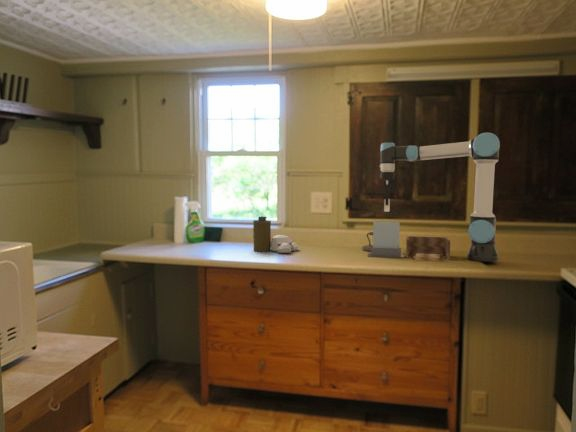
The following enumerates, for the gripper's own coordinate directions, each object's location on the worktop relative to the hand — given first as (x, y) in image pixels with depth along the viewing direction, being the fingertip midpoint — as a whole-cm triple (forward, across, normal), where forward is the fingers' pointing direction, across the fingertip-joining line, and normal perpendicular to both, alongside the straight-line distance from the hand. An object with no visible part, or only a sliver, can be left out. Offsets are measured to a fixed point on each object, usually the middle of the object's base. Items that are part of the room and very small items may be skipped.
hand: (387, 210), depth 252 cm
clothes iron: (+26, -16, -11) cm, 33 cm away
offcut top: (+24, +5, +21) cm, 32 cm away
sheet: (+24, 0, 0) cm, 24 cm away
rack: (+25, 0, +22) cm, 33 cm away
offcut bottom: (+26, +5, +22) cm, 34 cm away
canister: (+24, -5, -72) cm, 77 cm away
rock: (+25, -6, -60) cm, 66 cm away
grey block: (+25, 0, 0) cm, 25 cm away
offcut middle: (+25, +5, +21) cm, 33 cm away
